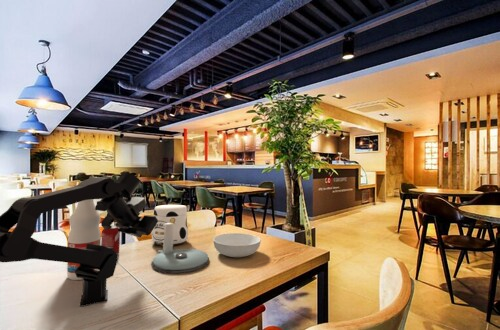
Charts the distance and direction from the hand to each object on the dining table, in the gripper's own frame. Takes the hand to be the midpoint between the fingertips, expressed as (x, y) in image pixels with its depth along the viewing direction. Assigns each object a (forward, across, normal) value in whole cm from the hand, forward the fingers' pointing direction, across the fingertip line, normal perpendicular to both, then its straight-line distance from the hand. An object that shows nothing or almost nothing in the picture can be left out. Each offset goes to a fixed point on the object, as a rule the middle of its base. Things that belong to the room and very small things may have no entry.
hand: (140, 236), depth 90 cm
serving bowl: (+31, -25, -14) cm, 42 cm away
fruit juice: (+5, +16, +15) cm, 23 cm away
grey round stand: (+18, -7, -2) cm, 20 cm away
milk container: (+34, +11, -16) cm, 39 cm away
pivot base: (+20, -7, -2) cm, 21 cm away
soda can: (+18, +24, +2) cm, 30 cm away
